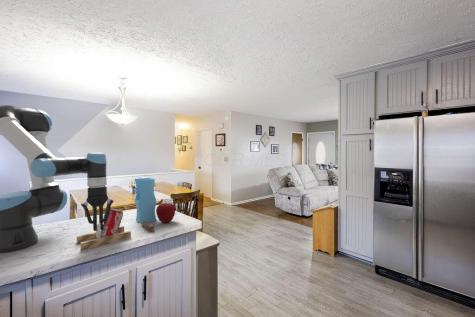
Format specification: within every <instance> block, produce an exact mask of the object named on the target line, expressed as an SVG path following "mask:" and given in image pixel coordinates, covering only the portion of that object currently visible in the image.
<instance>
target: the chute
mask: <svg viewBox="0 0 475 317" xmlns="http://www.w3.org/2000/svg"><path fill="white" fill-rule="evenodd" d="M131 238H132V231H131V230H126V231H125V226H124V225H122V226H121V225H120V226H119V230H118V233H117V234H114V235H110V236H106V237H101V238H97V237H96V231H93V232H90V233H89V232H88V233H84V234H79V235H76V243H77V244H80V251H85V250H88V249H92V248H96V247H101V246H104V245H109V244H111V243H116V242H120V241H123V240H127V239H131Z"/></svg>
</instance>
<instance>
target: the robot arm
mask: <svg viewBox="0 0 475 317" xmlns="http://www.w3.org/2000/svg"><path fill="white" fill-rule="evenodd" d="M52 126H53V122H52V118H51V116H50V115H49V114H48V113H47V112H45V111H44V110H41V109H36V108H29V107H28V108H27V107H22V106H14V105H10V104H9V105H7V104H5V105H3V104H2V105H0V136H2V137H3V138H5V139H6V141H8V143H10V144H11V145H12V146H13V147H14V148H15V149H16V150H17V151H18V152H19V153H20V154H22V155H23V157H25V158H26V161H27V162H26V163H27V166H28V167H27V168H28V171H29V177H30V181H31V187H30V188H29V190H21V191H14V192H10V193H6V194H2V195H0V254H1V253H3V254H4V253H10V252H13V251H15V252H16V251H19V250H22V249H26V248H28V247H30V246H33V245H35V244H37V243H38V242H39V236H38V234H37V232H36V230H35V228H34V226H33V218H38V217H42V216H46V215H50V214H54V213H56V212H60V211H62V210H63V209H64V208H65V207H66V206H67V203H68V194H67V192H66V191H65V189H63V188H61V187H60V185H59V184H58V183H57V182H55V179H54V177H57V176H58V177H59V176H67V175H77V174H87V175H86V176H87V177H86V178H87V179H86V180H87V183H86V184H87V187H88V188H87V198H86V199H85V201H84V202H81V203H80V206H81V207H82V208H83V210H84V213H85V216H86V219H87V222H88V223H89V224H92V226H93V228H92V229H93V232H96V237H97V238H101V230H103V223H104V221H107V219H108V216H109V212H110V208H112V207H111V206H112V204H113V203H114V199H111V198H109V196H108V190H107V189H108V187H107V186H106V185H108V184H107V182H108V181H107V180H108V179H107V156H106V154H105V153H104V152H88V153H87V154H86V157H81V156H73V157H56V156H55V155H54V154H52V153H51V152H50V151H49V150H48V146H47V145H48V144H47V140H46V137H47V136H48V135H49V132H50V131H51V130H52ZM106 203H107V204H106ZM105 204H106V207H105V210H104V205H105ZM88 206H91V208H92V217H91V213H90V210H89V207H88Z"/></svg>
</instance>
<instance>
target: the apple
mask: <svg viewBox="0 0 475 317" xmlns="http://www.w3.org/2000/svg"><path fill="white" fill-rule="evenodd" d="M175 206H176V205H174V204H173V203H171V202H169V203H166V202H164V203H161V204H158V205H157V207H156V208H155V214H156V218H157V219H158V221H160V222H161V223H165V224H166V223H170V222H171V221H172V220H173V219H174V217H175V216H176V207H175Z"/></svg>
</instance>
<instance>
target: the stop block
mask: <svg viewBox="0 0 475 317" xmlns="http://www.w3.org/2000/svg"><path fill="white" fill-rule="evenodd" d="M141 228H143V229H144V230H145V231H147V232H149V233H155V229H156V228H155V225H153V224H151V223H150V222H147V221H142V223H141Z"/></svg>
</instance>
